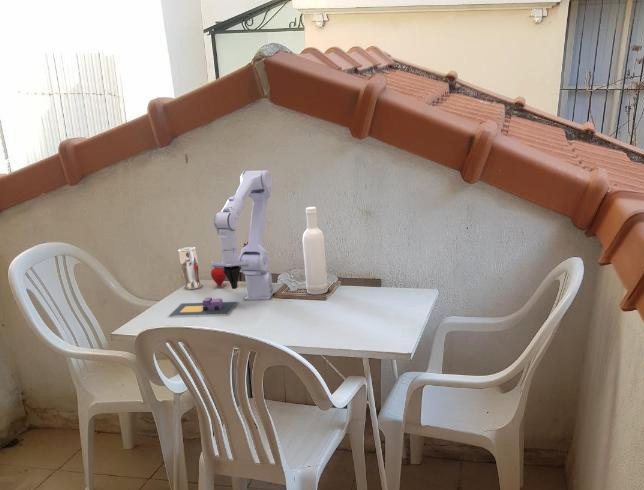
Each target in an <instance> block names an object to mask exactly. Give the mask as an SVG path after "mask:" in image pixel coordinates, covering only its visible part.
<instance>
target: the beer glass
mask: <svg viewBox="0 0 644 490" xmlns="http://www.w3.org/2000/svg"><path fill="white" fill-rule="evenodd" d="M178 257H179V262H180V267H181V270H182V272H183V275H184V279H185V289H186V290H196V289H200V288H201V287H202V284H201V281H200V277H199V258H198V252H197V248H196V247H194V246H188V247H187V246H186V247H181V248H179V249H178Z"/></svg>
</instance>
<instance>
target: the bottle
mask: <svg viewBox="0 0 644 490" xmlns="http://www.w3.org/2000/svg"><path fill="white" fill-rule="evenodd" d="M317 213H318V211H317V207H316V206H307V207H306V208H305V216H306V227H307V228H306V229H305V231H304V232H303V235H302V251H303V260H304V261H303V263H304V272H305V273H304V274H305V286H306V293H307V294H309V295H323V294H325V293H328V291H329V289H327V288H328V287H329V285H328V274H327V273H328V272H327V260H326V258H327V257H326V246H325V245H326V244H325V235H324V233H323V231H322V230H321V229H320V228H319V227H318V215H317ZM326 289H327V290H326ZM324 290H325V291H324Z"/></svg>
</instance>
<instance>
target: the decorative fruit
mask: <svg viewBox="0 0 644 490" xmlns="http://www.w3.org/2000/svg"><path fill="white" fill-rule="evenodd" d="M223 270H224V268H214V269H211V270H210V276H211V278H212V280H213V282H215V284H216V285H217V286H218V287H222V285H223V283H224V281H225V279H226V278H227V276H226V275H225V273H224V272H223Z"/></svg>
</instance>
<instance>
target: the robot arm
mask: <svg viewBox="0 0 644 490" xmlns="http://www.w3.org/2000/svg"><path fill="white" fill-rule="evenodd" d="M239 181H240V182H239V183H240V184H239V186H238V188H237V190H236V192H235V194H234V195H233V196H229V198H228V199H227V201H226V203H225V204H224V206H223V208H222V209H221V211H218V212H216V214H215V215H214V217H213V227H214V228H215V230H216V234H217V236H218V238H219V244H220V251H221V259H222V260H219V261H211V262H210V263H209V264H210V269H211V270H212V269H214V268H224V270H223V272H224V273H225V275H226V278H227V280H228V281H229V284H230V286H231V290H237V289H238V281H239V277H240V276H239V275H240V272H242V274H243V275H244V278H245V286H246V294H247V295H246V296H245V297H244V300H266V299H267V300H268V299H271V297H272V296H273V294H274V293H275V292H274V286H273V277H272V273H271V272H268V268H269V253H268V251H267V250H266V249H265V248H264V247H263V242H264V235H265V227H266V226H265V225H266V220H267V219H266V218H267V212H268V211H267V210H268V203H269V198H270V197H271V196H272V188H273V178H272V175H271V173H270V171H269V170H267V169H264V170H243V171H242V173H241V175H240V176H239ZM247 198H250V199H252V209H251V217H250V225H249V231H248V232H249V233H248V240H247V244H246V245H245V246H244V247H242V248H241V250H240V254H239V247H238V245H239V244H238V238H237V232H236V231H237V230H236V229H237V228H238V227H239V220H240V216H241V213H242V212H243V210H244V209H245V203H244V202H245V201H246V199H247Z"/></svg>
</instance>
